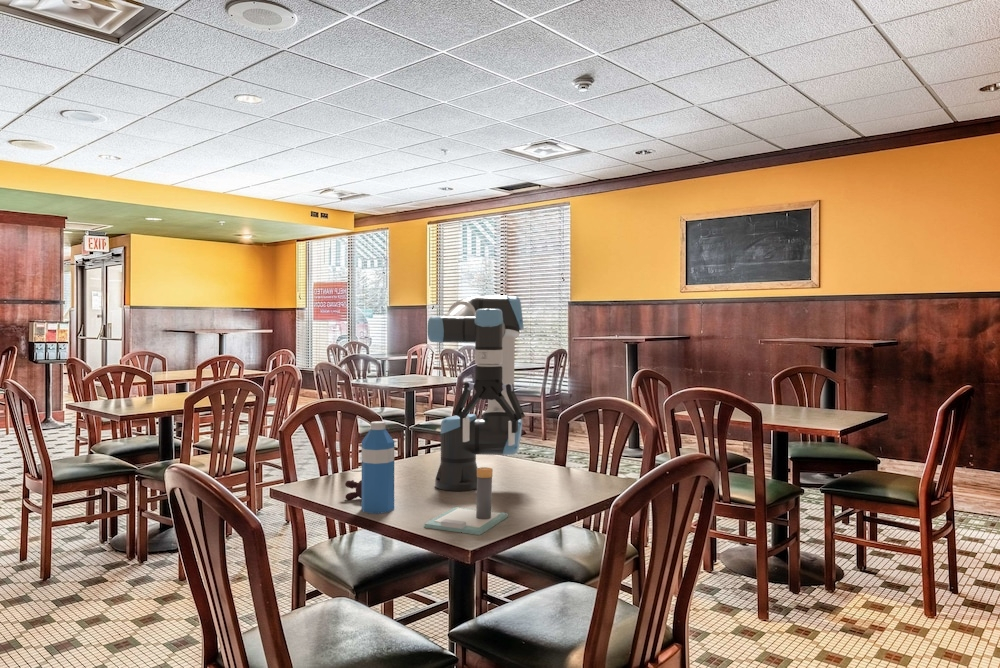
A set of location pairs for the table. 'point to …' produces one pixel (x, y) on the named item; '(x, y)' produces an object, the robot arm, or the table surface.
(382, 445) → the water bottle
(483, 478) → the marker
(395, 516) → the table surface
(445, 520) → the clipboard
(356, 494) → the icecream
